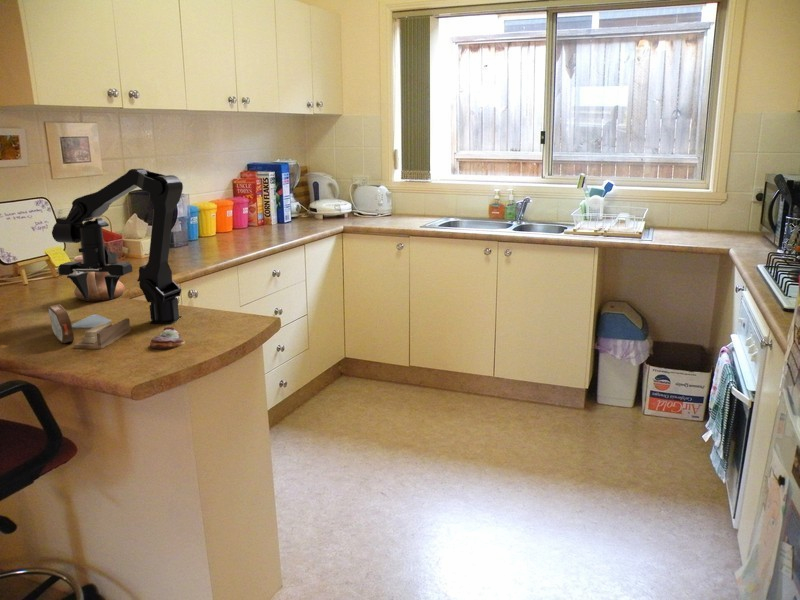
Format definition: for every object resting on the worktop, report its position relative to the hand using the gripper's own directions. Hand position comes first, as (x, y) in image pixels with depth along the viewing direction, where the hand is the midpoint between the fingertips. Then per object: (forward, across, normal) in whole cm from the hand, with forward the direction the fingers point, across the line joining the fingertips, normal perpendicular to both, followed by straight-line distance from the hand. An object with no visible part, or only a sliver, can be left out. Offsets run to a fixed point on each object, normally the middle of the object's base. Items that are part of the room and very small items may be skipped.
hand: (99, 298), depth 183 cm
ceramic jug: (+6, +14, -23) cm, 27 cm away
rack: (+6, -11, +19) cm, 23 cm away
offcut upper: (+4, -10, +19) cm, 22 cm away
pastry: (+6, -30, +23) cm, 38 cm away
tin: (+6, 0, +19) cm, 20 cm away
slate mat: (+6, 0, 0) cm, 6 cm away
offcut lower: (+5, -10, +19) cm, 22 cm away
